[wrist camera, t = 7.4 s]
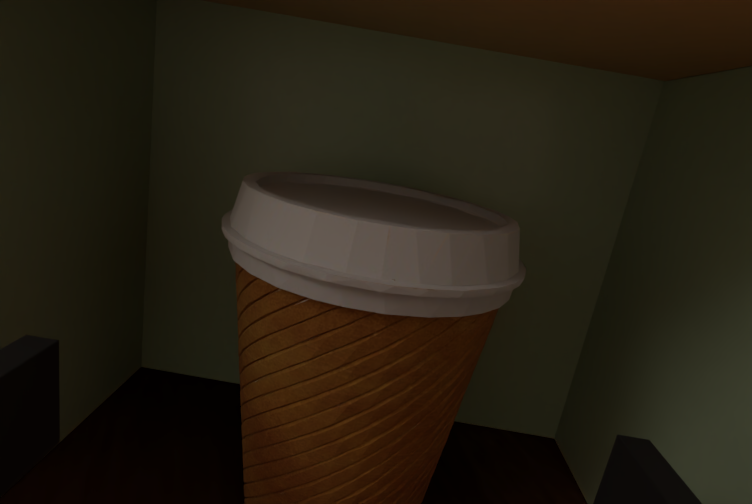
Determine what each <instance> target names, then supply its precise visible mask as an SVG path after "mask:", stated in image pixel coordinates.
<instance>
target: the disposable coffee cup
mask: <svg viewBox="0 0 752 504" xmlns="http://www.w3.org/2000/svg"><path fill="white" fill-rule="evenodd" d="M222 232H223V234H224V236H225V238H226V239H228V247H229V250H230V253H231V255H232V258H233V260H234V261H235V265H236V293H237V318H238V322H237V323H238V338H239V340H238V356H239V374H240V376H239V377H240V390H241V391H240V401H241V422H242V425H241V430H242V438H243V439H242V452H243V455H242V456H243V468H244V470H243V480H244V483H245V484H244V497H245V499H244V504H421V503H422V501H423V499H424V496H425V493H426V491H427V488H428V486H429V483H430V481H431V478H432V476H433V473H434V471H435V469H436V466H437V463H438V461H439V458H440V456H441V454H442V451H443V448H444V446H445V444H446V442H447V439H448V436H449V433H450V430H451V428H452V425H453V423H454V420H455V417H456V415H457V413H458V410H459V408H460V405H461V402H462V400H463V397H464V394H465V392H466V389H467V387H468V384H469V382H470V380H471V377H472V374H473V372H474V369H475V367H476V364H477V362H478V359H479V357H480V354H481V352H482V350H483V348H484V345H485V342H486V340H487V337H488V335H489V332H490V330H491V328H492V325H493V322H494V319H495V317H496V314H497V312H498V309H499V308H500V307H501V306H502V305H503V304H505V303H506V302H507V301H508V300H509V299H510V296H511V293H512V291H513V289H515V288H517V287H519V286H520V285H521V283H522V282H523V280H524V278H525V273H526V267H525V266H524V264H523V262H522V261H521V260H520V259H519V241H520V228H519V225H518V222H517V221H515V220H513V219H512V218H510V217H509V216H507V215H505V214H502V213H500V212H498V211H495V210H492V209H489V208H486V207H483V206H480V205H477V204H474V203H471V202H468V201H464V200H461V199H457V198H453V197H450V196H445V195H441V194H437V193H433V192H429V191H424V190H420V189H415V188H410V187H405V186H399V185H394V184H388V183H383V182H378V181H371V180H364V179H357V178H350V177H342V176H335V175H325V174H313V173H300V172H261V173H253V174H250V175H247V176H245V177H244V178H243V181H242V184H241V187H240V190H239V193H238V196H237V199H236V202H235V204H234V207H233V209H232V210H231V211H229V212H227V213H226V214H225V215H224V216H223V218H222Z"/></svg>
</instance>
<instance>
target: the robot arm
mask: <svg viewBox="0 0 752 504" xmlns="http://www.w3.org/2000/svg"><path fill="white" fill-rule="evenodd" d="M59 442H60V398H59V340H55V339H49V338H43V337H37V336H31V335H25V336H23V337H21V338H19V339H18V340H16V341H14V342H12V343H10V344H9V345H7V346H5V347H3V348H2V349H0V498H1V497H2V496H3V495H4V494H5V493H6V492H7V491H8V490H9V489H10V488H11V487H12V486H13V485H14V484H15V483H17V482H18V481H19V480H20V479H21V478H22V477H23V476H24V475H25V474H26V473H27V472H28V471H29V470H30V469H31V468H32V467H34V466H35V465H36V464H37V463H38V462H39V461H40V460H41V459H42V458H43V457H44V456H45V455H46V454H47V453H48V452H49V451H51V450H52V449H53V448H54V447H55V446H56V445H57V444H58V443H59ZM593 504H702V503H701V502H700V500H699V499H698V498H697V497H696V496H695V494H694V493H693V492H692V491H691V490H690V488H689V487H688V486H687V485H686V484H685V482H684V481H683V480H682V479H681V477H680V476H679V475H678V474H677V473H676V471H675V470H674V469H673V468H672V467H671V465H670V464H669V463H668V462H667V460H666V459H665V458H664V457H663V456H662V454H661V453H660V452H659V451H658V450H657V448H656V447H655V446H654V445H653V444H652V442H651V441H650V440H647V439H641V438H636V437H630V436H624V435H618V434H617V437H616V440H615V442H614V445H613V448H612V451H611V454H610V457H609V460H608V463H607V465H606V468H605V471H604V474H603V477H602V480H601V483H600V485H599V488H598V491H597V494H596V497H595V500H594V503H593Z"/></svg>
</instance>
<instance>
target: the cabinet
mask: <svg viewBox="0 0 752 504" xmlns="http://www.w3.org/2000/svg"><path fill="white" fill-rule="evenodd" d="M261 172H300V173H313V174H325V175H335V176H342V177H350V178H357V179H364V180H371V181H378V182H383V183H388V184H394V185H399V186H405V187H410V188H415V189H420V190H424V191H429V192H433V193H437V194H441V195H445V196H450V197H453V198H457V199H461V200H464V201H468V202H471V203H474V204H477V205H480V206H483V207H486V208H489V209H492V210H495V211H498V212H500V213H502V214H505V215H507V216H509V217H510V218H512V219H513V220H515V221H517V222H518V225H519V228H520V241H519V259H520V260H521V261H522V262H523V264H524V266H525V267H526V273H525V278H524V280H523V282H522V283H521V285H520V286H519V287H517V288H515V289H513V291H512V293H511V296H510V299H509V300H508V301H507V302H506V303H505V304H503V305H502V306H501V307H500V308H499V309H498V312H497V314H496V317H495V319H494V322H493V325H492V328H491V330H490V332H489V335H488V337H487V340H486V342H485V345H484V348H483V350H482V352H481V354H480V357H479V359H478V362H477V364H476V367H475V369H474V372H473V374H472V377H471V380H470V382H469V384H468V387H467V389H466V392H465V394H464V397H463V400H462V402H461V405H460V408H459V410H458V413H457V415H456V417H455V420H454V421H455V422H461V423H467V424H473V425H479V426H484V427H490V428H496V429H502V430H507V431H513V432H519V433H525V434H530V435H536V436H542V437H548V438H553V439H555V441H556V443H557V445H558V447H559V449H560V451H561V453H562V455H563V457H564V459H565V461H566V463H567V465H568V467H569V468H570V470H571V472H572V474H573V476H574V478H575V480H576V482H577V484H578V486H579V488H580V490H581V492H582V494H583V496H584V498H585V500H586V502H587V504H593V503H594V500H595V497H596V494H597V491H598V488H599V485H600V483H601V480H602V477H603V474H604V471H605V468H606V465H607V463H608V460H609V457H610V454H611V451H612V448H613V445H614V442H615V440H616V437H617V434H618V435H624V436H630V437H636V438H641V439H647V440H650V441H651V442H652V444H653V445H654V446H655V447H656V448H657V450H658V451H659V452H660V453H661V454H662V456H663V457H664V458H665V459H666V460H667V462H668V463H669V464H670V465H671V467H672V468H673V469H674V470H675V471H676V473H677V474H678V475H679V476H680V477H681V479H682V480H683V481H684V482H685V484H686V485H687V486H688V487H689V488H690V490H691V491H692V492H693V493H694V494H695V496H696V497H697V498H698V499H699V500H700V502H701V503H702V504H752V0H0V349H2V348H3V347H5V346H7V345H9V344H10V343H12V342H14V341H16V340H18V339H19V338H21V337H23V336H25V335H31V336H37V337H43V338H49V339H55V340H59V398H60V442H61V441H62V440H63V439H64V438H65V437H66V436H67V435H68V434H69V433H71V432H72V431H73V430H74V429H75V428H76V427H77V426H78V425H79V424H80V423H81V422H82V421H83V420H85V419H86V418H87V417H88V416H89V415H90V414H91V413H92V412H93V411H94V410H95V409H96V408H97V407H99V406H100V405H101V404H102V403H103V402H104V401H105V400H106V399H107V398H108V397H109V396H110V395H111V394H113V393H114V392H115V391H116V390H117V389H118V388H119V387H120V386H121V385H122V384H123V383H124V382H125V381H127V380H128V379H129V378H130V377H131V376H132V375H133V374H134V373H135V372H136V371H137V370H138V369H139V368H141V367H144V368H150V369H156V370H162V371H167V372H173V373H179V374H185V375H190V376H196V377H202V378H208V379H213V380H219V381H225V382H231V383H237V384H240V377H239V376H240V374H239V356H238V340H239V338H238V323H237V322H238V318H237V293H236V265H235V261H234V260H233V258H232V255H231V253H230V250H229V247H228V239H226V238H225V236H224V234H223V232H222V218H223V216H224V215H225V214H226V213H227V212H229V211H231V210H232V209H233V207H234V204H235V202H236V199H237V196H238V193H239V190H240V187H241V184H242V181H243V178H244V177H245V176H247V175H250V174H253V173H261ZM60 442H59V443H60ZM59 443H58V444H59ZM58 444H57V445H58ZM57 445H56V446H57ZM49 452H50V451H49ZM49 452H48V453H49ZM48 453H47V454H48ZM47 454H46V455H47ZM46 455H45V456H46ZM45 456H44V457H45ZM44 457H43V458H44ZM43 458H42V459H43ZM32 468H33V467H32ZM32 468H31V469H32ZM31 469H30V470H31ZM30 470H29V471H30ZM29 471H28V472H29ZM15 484H16V483H15ZM15 484H14V485H15Z"/></svg>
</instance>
